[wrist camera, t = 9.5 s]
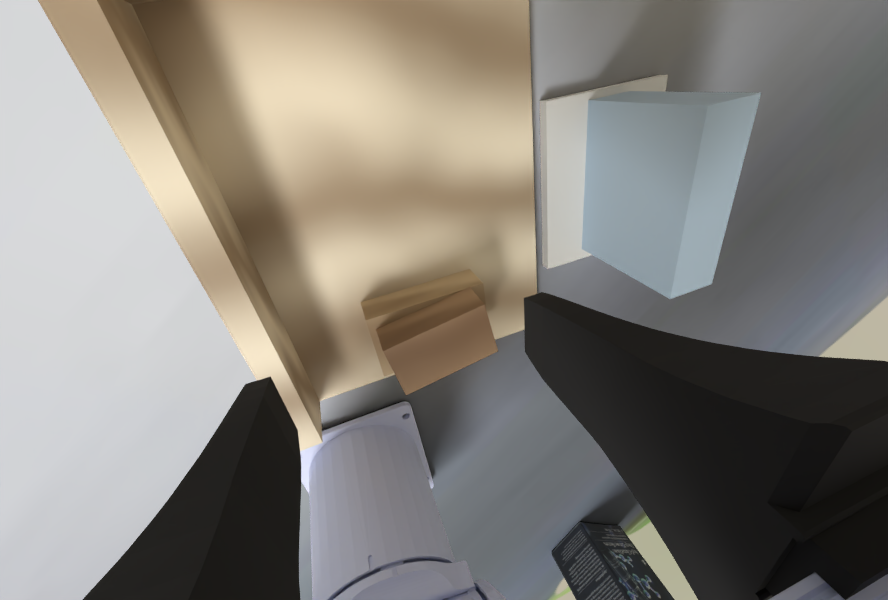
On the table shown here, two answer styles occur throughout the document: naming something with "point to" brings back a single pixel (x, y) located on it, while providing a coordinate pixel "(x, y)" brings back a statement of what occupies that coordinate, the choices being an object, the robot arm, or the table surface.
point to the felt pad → (570, 167)
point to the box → (606, 565)
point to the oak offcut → (414, 304)
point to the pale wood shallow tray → (323, 161)
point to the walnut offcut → (437, 340)
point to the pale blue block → (663, 182)
